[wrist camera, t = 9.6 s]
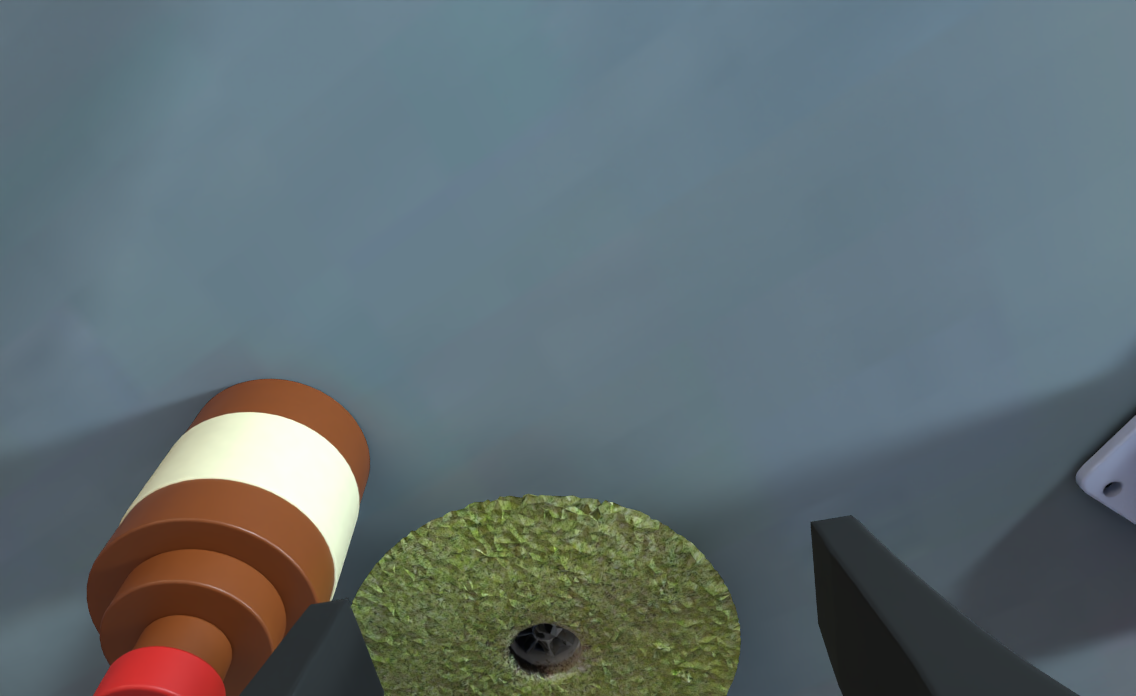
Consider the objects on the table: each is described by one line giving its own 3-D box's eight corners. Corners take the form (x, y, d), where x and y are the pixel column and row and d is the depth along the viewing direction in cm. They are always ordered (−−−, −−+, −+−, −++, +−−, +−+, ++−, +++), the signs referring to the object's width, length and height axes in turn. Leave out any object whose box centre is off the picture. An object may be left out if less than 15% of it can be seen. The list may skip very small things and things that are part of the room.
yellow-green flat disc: (706, 740, 29) (717, 793, 27) (368, 740, 28) (357, 793, 27) (750, 458, 24) (767, 500, 22) (343, 451, 23) (327, 494, 22)
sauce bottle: (404, 430, 23) (332, 697, 15) (323, 553, 25) (220, 852, 17) (233, 344, 22) (55, 585, 14) (161, 480, 24) (-35, 765, 15)
